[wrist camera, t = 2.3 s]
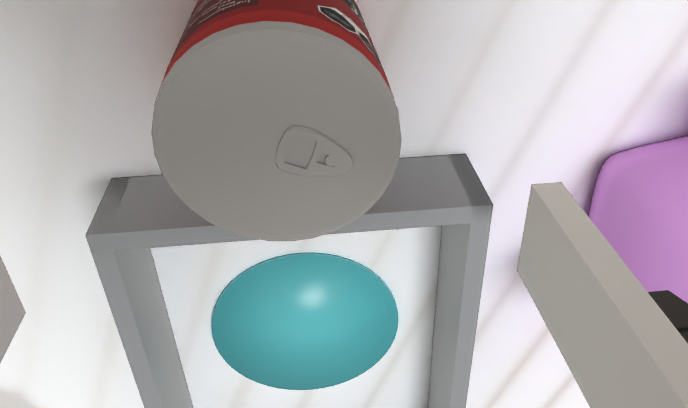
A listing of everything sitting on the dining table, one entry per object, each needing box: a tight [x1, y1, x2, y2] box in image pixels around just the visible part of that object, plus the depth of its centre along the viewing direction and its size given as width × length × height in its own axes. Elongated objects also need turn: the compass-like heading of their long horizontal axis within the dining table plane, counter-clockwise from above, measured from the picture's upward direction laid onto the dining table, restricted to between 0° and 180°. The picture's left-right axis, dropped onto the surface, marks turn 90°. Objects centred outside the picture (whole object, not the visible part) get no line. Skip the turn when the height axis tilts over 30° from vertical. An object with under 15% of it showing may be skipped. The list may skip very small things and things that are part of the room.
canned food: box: [152, 0, 401, 241], centre depth 23 cm, size 8×8×11 cm
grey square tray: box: [86, 154, 493, 408], centre depth 36 cm, size 24×19×5 cm
